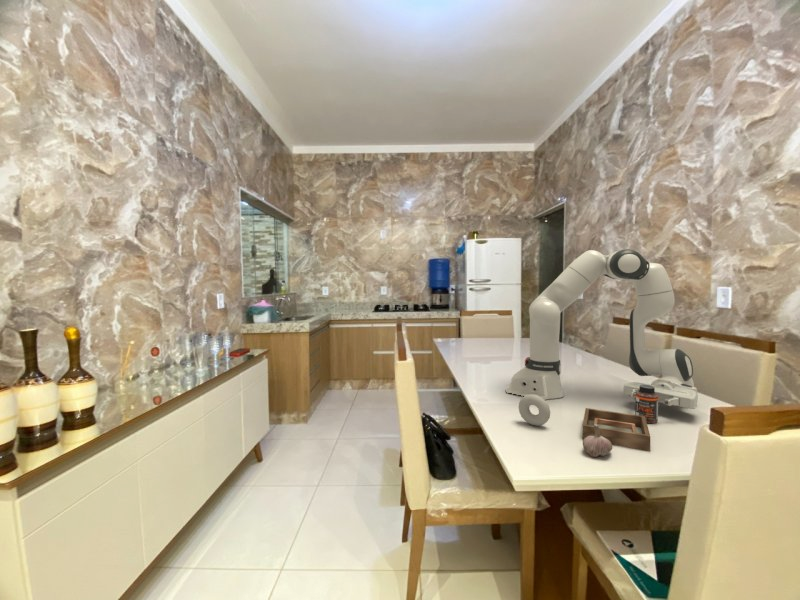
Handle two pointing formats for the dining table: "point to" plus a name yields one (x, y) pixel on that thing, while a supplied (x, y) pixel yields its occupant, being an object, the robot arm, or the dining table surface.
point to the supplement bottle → (647, 403)
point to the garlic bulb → (597, 444)
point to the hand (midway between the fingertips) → (649, 399)
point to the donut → (540, 404)
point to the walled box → (618, 428)
